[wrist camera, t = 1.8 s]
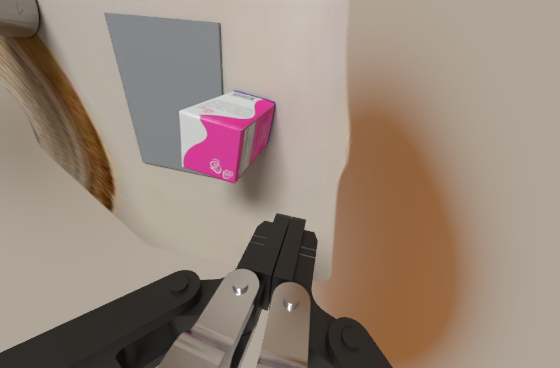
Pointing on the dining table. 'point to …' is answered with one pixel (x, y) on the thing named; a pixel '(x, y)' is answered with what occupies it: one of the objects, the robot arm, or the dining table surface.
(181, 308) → the robot arm
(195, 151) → the supplement box
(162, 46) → the rubber mat
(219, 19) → the dining table surface
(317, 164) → the dining table surface
